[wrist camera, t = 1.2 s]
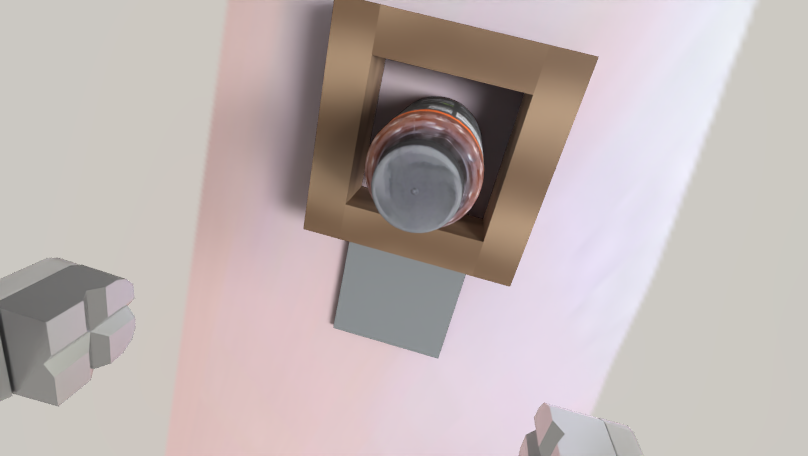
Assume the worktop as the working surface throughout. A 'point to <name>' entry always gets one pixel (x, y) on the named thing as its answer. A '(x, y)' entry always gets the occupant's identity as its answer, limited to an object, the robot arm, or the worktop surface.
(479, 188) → the supplement bottle
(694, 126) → the worktop surface
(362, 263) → the grey mat
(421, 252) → the frame
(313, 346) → the worktop surface
